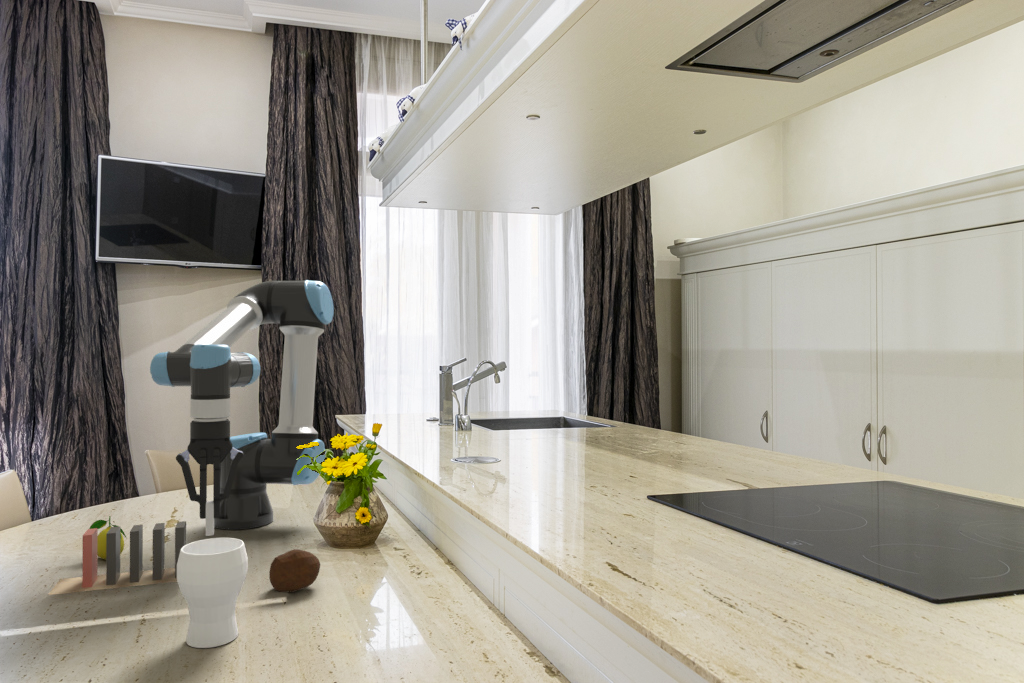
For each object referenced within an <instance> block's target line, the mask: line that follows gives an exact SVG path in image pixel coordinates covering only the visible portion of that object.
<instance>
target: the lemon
mask: <svg viewBox="0 0 1024 683" xmlns="http://www.w3.org/2000/svg"><path fill="white" fill-rule="evenodd" d="M111 517H112V516H111V515H110V516H109V517H108V520H104V519H98V520H95V521H94V522H93V523H91V525H90V527H89V528H88V529H94V528H98V530H100V529H102V528H104V527H105V526H106V525H107V523H108V526H107V527H106V528H104V529H102V530H101V531H100V532H99V533H98V534H97V558H99V559H102V560H105V561H106V534H107V532H108V531H109V530H110V528H111V527H119V525H116V524H115V525H114V524H112V523H111ZM124 538H127V535H126V534H125V531H124V530H123V529H122V527H120V555H121V554H122V553H123V551H124V549H125V540H124Z"/></svg>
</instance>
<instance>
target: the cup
mask: <svg viewBox="0 0 1024 683" xmlns="http://www.w3.org/2000/svg"><path fill="white" fill-rule="evenodd" d="M248 562H249V558H248V554H247V549H246V544H245V543H244V541H243V540H242V539H239V538H235V537H212V538H204V539H200V540H195V541H192V542H190V543H186V545H185V546H183V547H182V548H181V550H180V554H179V558H178V562H177V581H176V582H177V585H178V587H179V590H180V593H181V595H182V597H183V598H184V600H185V601H186V603H187V605H188V606H187V608H188V614H189V621H188V627H187V634H186V639H185V640H186V645H188V646H190V647H192V648H197V649H207V648H215V647H220V646H224V645H226V644H229V643H230V642H232V641H234V640H235V639H236V638H238V636H239V630H238V623H237V617H236V616H237V615H236V608H237V601H238V596H239V595H240V592H241V591H242V588H243V586H244V583H245V581H246V577H247V575H248V569H249V567H248V566H249V563H248Z"/></svg>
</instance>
